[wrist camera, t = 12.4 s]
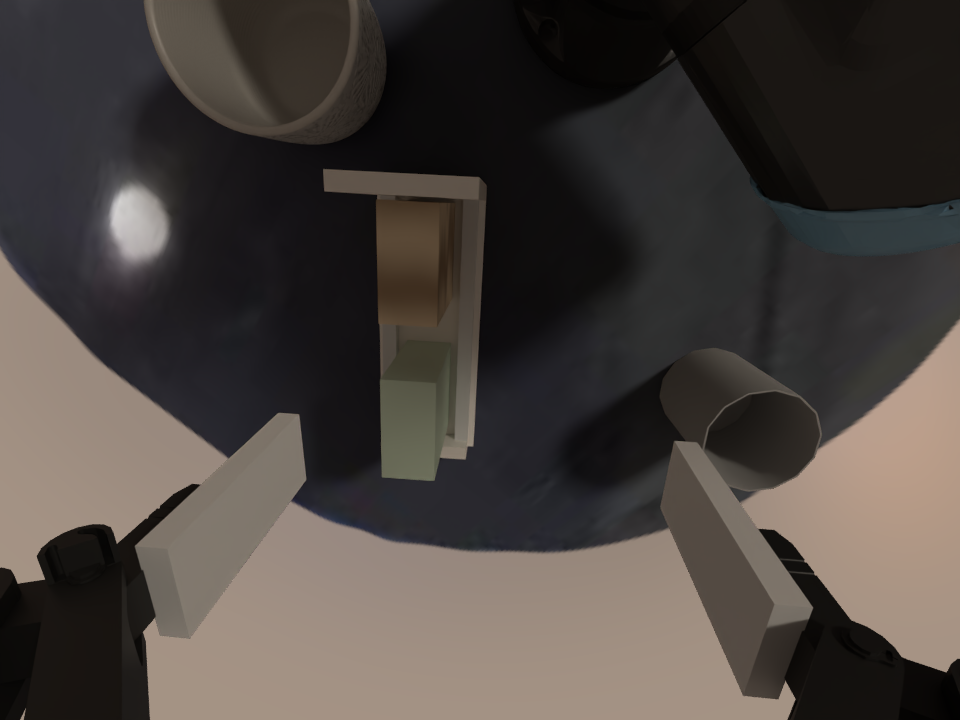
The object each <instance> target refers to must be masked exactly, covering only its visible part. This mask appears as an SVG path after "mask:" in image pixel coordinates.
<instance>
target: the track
mask: <svg viewBox="0 0 960 720" xmlns="http://www.w3.org/2000/svg"><path fill="white" fill-rule="evenodd" d="M323 176H324V191H327V192H342V193H356V194H371V195H377V199H381V200H410V201H429V202H447V203H455V230H454V261H453V293H452V300H451V302H450V304H449V306H448V308H447V310H446V312H445V313H444V315H443V317H442V319H441V321H440V323H439V325H438V327H422V326H406V325H389V324H380V365H381V377H382V376H383V374H384V373H385V372H386V370H387V369H388V367H389V366H390V364H391V363H392V362H393V360H394V359H395V357H396V356H397V354H398V353H399V352H400V350H401V349H402V347H403V346H404V344H405V343H406V342H407V340H414V341H430V342H447V343H451V366H450V397H449V423H448V427H447V431H446V435H445V439H444V443H443V447H442V451H441V455H440V458H453V459H466V453H467V446H473V443H474V426H475V406H476V387H477V368H478V349H479V330H480V310H481V291H482V272H483V253H484V233H485V214H486V195H487V185H486V184H485V183H484V182H483V181H482V179H481V178H480V177H465V176H446V175H427V174H408V173H388V172H369V171H350V170H331V169H323Z"/></svg>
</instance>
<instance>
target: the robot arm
mask: <svg viewBox="0 0 960 720" xmlns="http://www.w3.org/2000/svg"><path fill="white" fill-rule="evenodd" d="M514 5H515V10H516V13H517V17H518V20H519V23H520V25H521V28H522V30H523V32H524V34H525V36H526V38H527V40H528V42H529V43H530V45H531V47H532V48H533V50H534V51H535V52H536V54H537V55H538V56H539V57H540V58H541V59H542V61H543V62H544V63H545V64H547V65H548V66H549V67H550V68H551V69H552V70H553V71H555V72H556V73H558V74H559V75H561V76H562V77H564V78H566V79H568V80H570V81H572V82H574V83H577V84H580V85H584V86H587V87H593V88H619V87H625V86H629V85H633V84H636V83H639V82H641V81H644V80H646V79H648V78H650V77H652V76H654V75H656V74H657V73H659V72H661V71H662V70H663V69H665V68H666V67H668V66H669V65H670V64H671V63H673V62H674V61H675V60H676V59H677V58H678V59H677V60H678V61H679V63H680V65H681V66H682V68H683V69H684V71H685V73H686V74H687V76H688V77H689V79H690V80H691V82H692V84H693V85H694V87H695V88H696V90H697V92H698V93H699V95H700V96H701V98H702V99H703V101H704V103H705V104H706V106H707V107H708V109H709V111H710V112H711V114H712V115H713V117H714V119H715V120H716V122H717V123H718V125H719V126H720V128H721V130H722V131H723V133H724V134H725V136H726V138H727V139H728V141H729V142H730V144H731V146H732V147H733V149H734V150H735V152H736V153H737V155H738V157H739V158H740V160H741V161H742V163H743V165H744V166H745V168H746V169H747V171H748V172H749V174H750V184H751V186H752V188H753V190H754V191H755V193H756V194H757V196H758V197H759V198H760V199H762V200H763V201H765V202H766V203H767V204H768V205H769V206H771V208H772V209H773V211H774V212H775V213H776V215H777V216H778V218H779V219H780V220H781V222H782V223H783V225H784V226H785V227H786V229H787V230H788V231H789V233H790V234H791V235H792V236H793V237H795V238H796V239H797V240H799V241H802V242H803V243H805V244H807V245H808V246H810V247H811V248H815V249H817V250H819V251H822V252H827V253H831V254H837V255H844V256H886V255H896V254H905V253H912V252H918V251H924V250H929V249H935V248H940V247H944V246H948V245H952V244H956V243H960V0H514ZM305 481H306V472H305V463H304V454H303V445H302V436H301V427H300V418H299V414H287V413H278V414H277V415H275V416H274V417H273V418H272V419H271V420H270V421H269V422H268V423H267V424H266V425H265V426H264V427H263V428H261V429H260V430H259V431H258V432H257V433H256V434H255V435H254V436H253V437H252V438H251V439H250V440H249V441H247V442H246V443H245V444H244V445H243V446H242V447H241V448H240V449H239V450H238V451H237V452H236V453H235V454H233V455H232V456H231V457H230V458H229V459H228V460H227V461H226V462H225V463H224V464H223V465H222V466H221V467H219V468H218V469H217V470H216V471H215V472H214V473H213V474H212V475H211V476H210V477H209V478H208V479H207V480H205V482H203V483H202V484H201V485H199V484H191V485H190V486H188V487H186V488H184V489H182V490H180V491H178V492H177V493H175V494H173V495H172V496H171V497H170V498H169V499H168V500H166V501H165V502H164V503H163V504H162V505H161V506H160V508H159V509H156V510H155V511H154V512H153V513H152V514H150V515H149V517H148V519H145V520H144V521H143V522H141V523H140V524H139V525H138V526H137V527H136V528H135V529H134V530H132V531H131V532H130V533H129V534H128V535H127V536H126V537H124V538H123V539H122V540H121V541H120V542H119V543H118V544H117V543H116V540H115V536H114V533H113V531H112V529H111V527H108V526H106V525H100V524H92V525H87V526H83V527H78V528H75V529H73V530H70V531H67V532H65V533H63V534H61V535H59V536H57V537H55V538H54V539H52V540H50V541H49V542H48V543H47V544H46V545H45V546H44V547H42V548H41V550H40V552H39V553H38V555H37V559H38V561H39V564H40V567H41V569H42V572H43V574H44V577H45V580H40V581H34V582H27V583H20V584H17V581H16V579H15V576H14V574H13V573H12V571H11V570H9V569H5V568H0V720H20V719H21V717H22V715H23V712H24V710H25V708H26V711H25V716H24V720H150V716H149V696H148V677H147V658H146V641H145V638H144V634H143V631H144V630H145V629H146V628H147V626H148V625H149V624H150V623H151V622H152V620H153V619H154V618H155V620H156V623H157V627H158V631H159V634H160V636H169V637H179V638H189V639H190V638H191V636H192V635H193V633H194V632H195V631H196V629H197V628H198V626H199V625H200V624H201V622H202V621H203V620H204V618H205V617H206V616H207V614H208V613H209V611H210V610H211V609H212V607H213V606H214V605H215V603H216V602H217V601H218V599H219V598H220V597H221V595H222V594H223V592H224V591H225V590H226V588H227V587H228V586H229V584H230V583H231V582H232V580H233V579H234V578H235V576H236V575H237V573H238V572H239V571H240V569H241V568H242V567H243V565H244V564H245V563H246V561H247V560H248V558H249V557H250V556H251V554H252V553H253V552H254V550H255V549H256V548H257V546H258V545H259V543H260V542H261V541H262V539H263V538H264V537H265V535H266V534H267V533H268V531H269V530H270V528H271V527H272V526H273V524H274V523H275V522H276V520H277V519H278V518H279V516H280V515H281V513H282V512H283V511H284V509H285V508H286V507H287V505H288V504H289V503H290V501H291V500H292V498H293V497H294V496H295V494H296V493H297V492H298V490H299V489H300V488H301V486H302V485H303V483H304V482H305ZM660 508H661V511H662V513H663V515H664V517H665V520H666V522H667V524H668V526H669V529H670V531H671V533H672V535H673V538H674V540H675V542H676V544H677V547H678V549H679V551H680V553H681V556H682V558H683V560H684V562H685V565H686V567H687V569H688V572H689V574H690V576H691V578H692V580H693V583H694V585H695V588H696V590H697V592H698V594H699V597H700V599H701V601H702V603H703V606H704V608H705V610H706V612H707V615H708V617H709V619H710V621H711V623H712V626H713V628H714V631H715V633H716V635H717V637H718V639H719V642H720V644H721V646H722V649H723V651H724V653H725V655H726V658H727V660H728V662H729V665H730V667H731V669H732V671H733V673H734V676H735V678H736V680H737V683H738V685H739V687H740V689H741V692H742V694H743V696H752V697H761V698H771V699H779V696H780V693H781V691H782V688H783V685H784V683H785V680H786V682H787V684H788V686H789V688H790V690H791V691H792V693H793V695H794V697H795V699H796V700H795V702H794V705H793V707H792V710H791V713H790V715H789V717H788V720H960V659H957V660H956V661H954V662H953V663H952V664H951V665H950V667H949V669H948V671H947V673H946V672H943V671H940V670H937V669H934V668H931V667H928V666H925V665H922V664H919V663H916V662H913V661H910V660H907V659H905V658H902V657H901V656H900V654H899V653H898V652H897V650H896V649H895V648H894V647H893V646H892V645H891V644H890V643H889V642H888V641H887V640H886V639H885V638H883V636H881V635H879V634H878V633H876V632H875V631H873V630H871V629H870V628H868V627H866V626H864V625H861V624H859V623H856V622H854V621H851V620H850V618H849V617H848V616H847V614H846V613H845V612H844V610H843V609H842V608H841V607H840V605H839V604H838V603H837V601H836V600H835V599H834V597H833V596H832V595H831V594H830V592H829V591H828V590H827V588H826V587H825V586H824V584H823V583H822V582H821V581H820V579H819V578H818V577H817V576H815V575H814V571H813V570H812V569H811V568H810V566H809V565H808V564H807V563H805V562H804V558H803V557H802V556H801V555H800V553H799V552H798V551H797V549H796V548H795V547H794V545H793V544H792V543H790V542H789V541H788V540H787V539H785V538H784V537H783V536H781V535H780V534H779V533H777V532H776V531H775V530H766V529H758V528H757V527H756V526H755V524H754V523H753V521H752V520H751V519H750V517H749V516H748V514H747V513H746V511H745V510H744V508H743V507H742V506H741V504H740V503H739V501H738V500H737V498H736V497H735V496H734V494H733V493H732V491H731V490H730V488H729V487H728V486H727V484H726V483H725V481H724V480H723V478H722V477H721V476H720V474H719V473H718V471H717V470H716V468H715V467H714V466H713V464H712V463H711V461H710V460H709V458H708V457H707V456H706V454H705V453H704V451H703V450H702V449H701V447H700V446H699V444H698V443H697V442H684V441H674V444H673V449H672V454H671V458H670V463H669V468H668V473H667V478H666V483H665V487H664V492H663V497H662V502H661V507H660Z"/></svg>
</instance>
